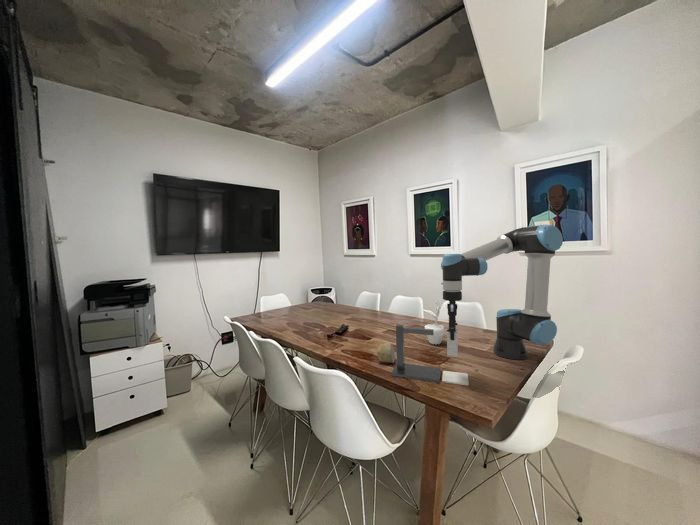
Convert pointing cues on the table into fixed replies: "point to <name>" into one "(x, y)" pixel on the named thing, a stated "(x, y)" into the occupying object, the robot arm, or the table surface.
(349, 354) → the table surface
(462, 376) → the pad
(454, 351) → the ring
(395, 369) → the stand
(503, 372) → the table surface
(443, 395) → the table surface
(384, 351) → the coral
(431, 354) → the table surface
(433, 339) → the potted plant
